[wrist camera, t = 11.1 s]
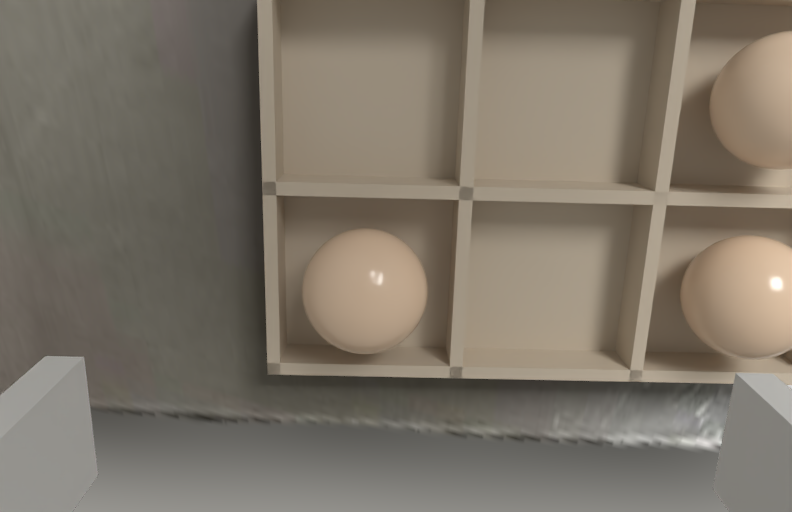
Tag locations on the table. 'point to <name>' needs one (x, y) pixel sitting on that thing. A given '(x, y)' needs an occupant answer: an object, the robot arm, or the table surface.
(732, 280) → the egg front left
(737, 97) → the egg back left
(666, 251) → the carton
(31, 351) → the table surface
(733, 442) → the robot arm
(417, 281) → the egg
